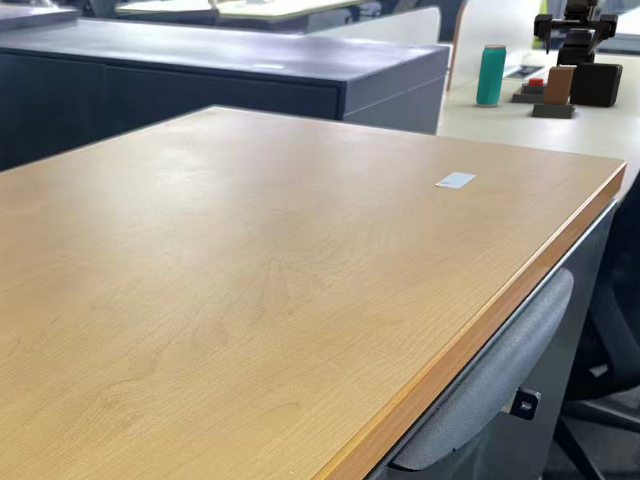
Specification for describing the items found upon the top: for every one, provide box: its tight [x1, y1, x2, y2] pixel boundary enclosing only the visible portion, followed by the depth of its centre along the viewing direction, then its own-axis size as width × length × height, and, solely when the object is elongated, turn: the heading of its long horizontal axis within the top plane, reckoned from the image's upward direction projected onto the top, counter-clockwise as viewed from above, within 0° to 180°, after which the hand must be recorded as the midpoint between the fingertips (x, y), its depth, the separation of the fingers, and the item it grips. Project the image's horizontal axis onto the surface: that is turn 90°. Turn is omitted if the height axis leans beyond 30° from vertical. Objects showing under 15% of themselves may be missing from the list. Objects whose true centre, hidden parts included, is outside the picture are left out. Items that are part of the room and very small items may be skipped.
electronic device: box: [568, 62, 624, 108], centre depth 221 cm, size 4×10×10 cm, turn 44°
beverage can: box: [475, 44, 507, 108], centre depth 224 cm, size 6×6×15 cm
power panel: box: [511, 82, 547, 104], centre depth 232 cm, size 12×9×4 cm
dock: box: [531, 103, 576, 120], centre depth 213 cm, size 8×9×3 cm
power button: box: [527, 77, 545, 86], centre depth 231 cm, size 4×4×2 cm
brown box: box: [543, 65, 575, 105], centre depth 211 cm, size 5×5×11 cm
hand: (567, 53), depth 214 cm, fingers open, 9 cm apart
